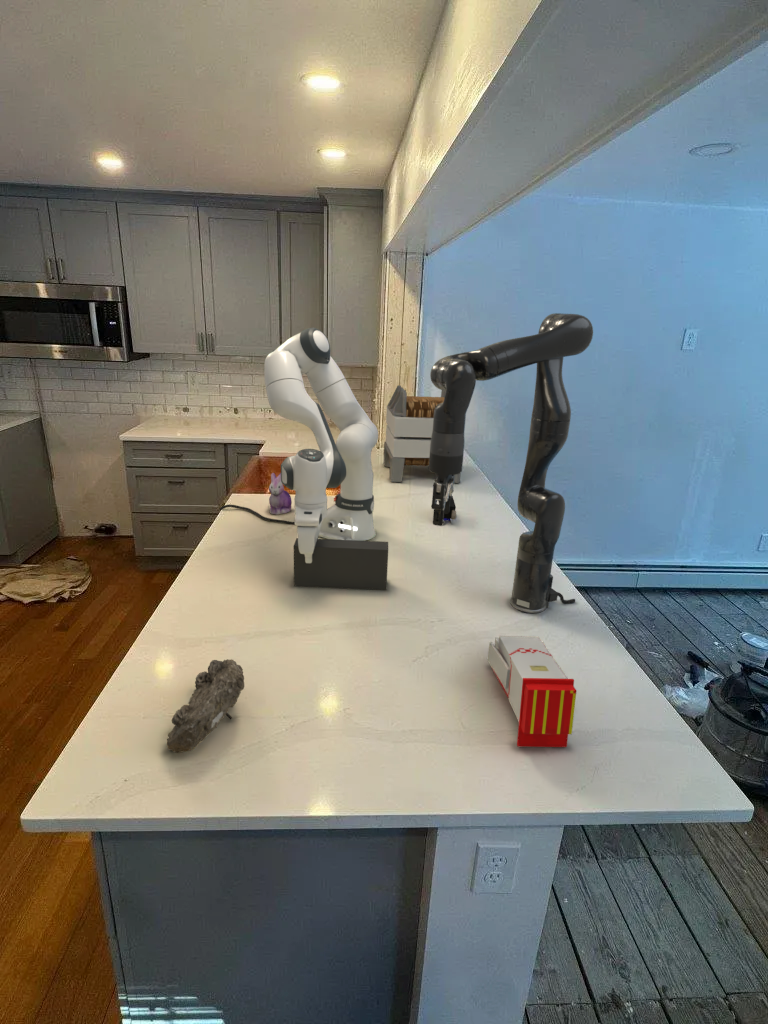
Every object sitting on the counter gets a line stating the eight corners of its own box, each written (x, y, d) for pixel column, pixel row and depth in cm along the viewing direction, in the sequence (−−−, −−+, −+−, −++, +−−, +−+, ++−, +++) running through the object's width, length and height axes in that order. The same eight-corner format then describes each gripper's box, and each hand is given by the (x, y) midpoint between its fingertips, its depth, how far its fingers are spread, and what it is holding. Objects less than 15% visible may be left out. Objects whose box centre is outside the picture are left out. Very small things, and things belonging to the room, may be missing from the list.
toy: (536, 619, 129) (586, 686, 99) (531, 673, 131) (578, 754, 102) (483, 618, 128) (517, 685, 99) (479, 672, 131) (511, 753, 102)
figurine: (272, 516, 210) (271, 477, 205) (264, 508, 219) (263, 470, 213) (296, 513, 214) (296, 475, 209) (287, 505, 223) (287, 468, 218)
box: (293, 586, 159) (293, 545, 155) (296, 577, 165) (296, 537, 161) (386, 590, 160) (388, 549, 155) (386, 580, 165) (388, 541, 161)
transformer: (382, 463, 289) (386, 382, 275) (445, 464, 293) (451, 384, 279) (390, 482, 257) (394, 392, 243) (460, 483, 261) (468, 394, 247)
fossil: (192, 660, 117) (244, 628, 112) (224, 691, 120) (276, 661, 115) (142, 746, 98) (202, 712, 93) (182, 779, 101) (242, 748, 96)
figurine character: (456, 529, 210) (451, 511, 223) (458, 510, 207) (453, 493, 220) (438, 528, 210) (434, 510, 223) (440, 510, 206) (436, 493, 220)
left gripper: (304, 496, 164) (304, 540, 169) (293, 522, 145) (294, 570, 150) (326, 497, 164) (325, 541, 169) (318, 523, 145) (317, 571, 150)
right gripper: (458, 460, 119) (452, 531, 124) (468, 445, 132) (461, 511, 137) (423, 456, 121) (418, 527, 126) (436, 442, 134) (431, 507, 139)
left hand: (310, 555), depth 159 cm, fingers open, 7 cm apart
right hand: (441, 518), depth 132 cm, fingers open, 8 cm apart
